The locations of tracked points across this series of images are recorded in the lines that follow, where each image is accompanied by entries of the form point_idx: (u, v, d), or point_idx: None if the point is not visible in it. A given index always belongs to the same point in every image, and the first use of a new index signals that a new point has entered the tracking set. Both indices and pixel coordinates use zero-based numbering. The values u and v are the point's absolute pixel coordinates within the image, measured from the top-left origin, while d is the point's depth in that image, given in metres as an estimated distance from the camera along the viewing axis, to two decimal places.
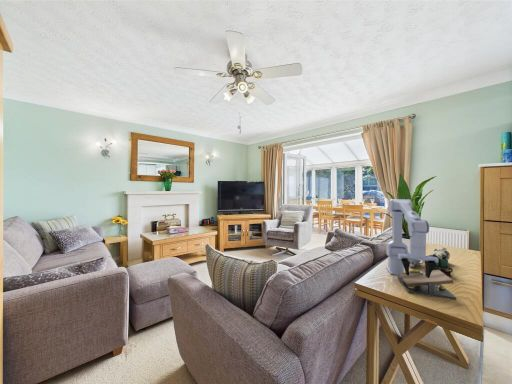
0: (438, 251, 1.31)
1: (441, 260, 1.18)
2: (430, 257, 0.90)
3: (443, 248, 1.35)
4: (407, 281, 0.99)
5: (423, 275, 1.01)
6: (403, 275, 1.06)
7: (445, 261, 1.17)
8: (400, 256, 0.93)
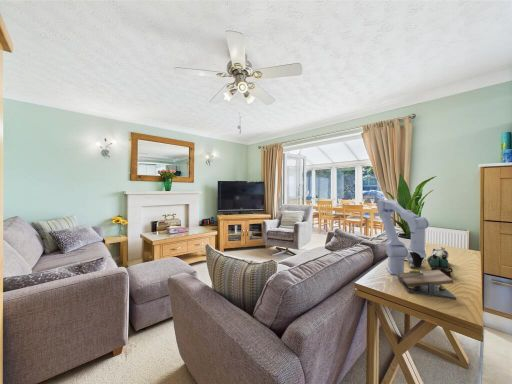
0: (438, 251, 1.31)
1: (441, 260, 1.18)
2: (420, 252, 0.99)
3: (442, 248, 1.36)
4: (407, 281, 0.99)
5: (423, 275, 1.01)
6: (403, 275, 1.06)
7: (445, 261, 1.17)
8: None
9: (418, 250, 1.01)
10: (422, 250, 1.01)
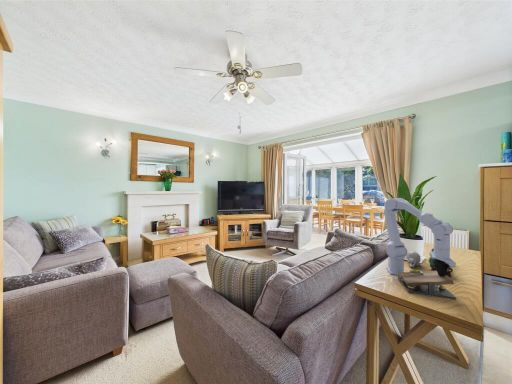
0: None
1: None
2: (447, 260, 0.93)
3: None
4: (407, 280, 0.99)
5: (423, 275, 1.01)
6: (403, 274, 1.06)
7: None
8: None
9: (444, 258, 0.95)
10: (448, 258, 0.95)
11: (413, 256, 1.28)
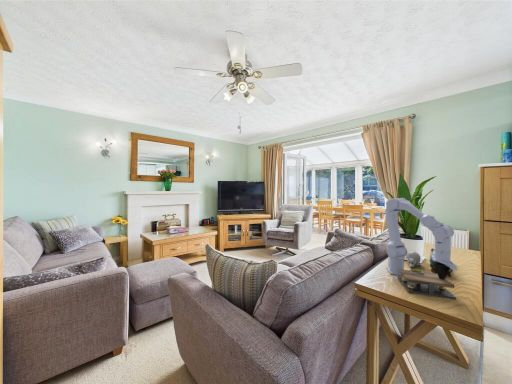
0: None
1: None
2: (448, 263, 0.93)
3: None
4: (407, 277, 0.99)
5: (424, 275, 1.01)
6: (404, 271, 1.06)
7: None
8: (430, 256, 1.05)
9: (445, 261, 0.95)
10: (449, 261, 0.95)
11: (413, 256, 1.27)
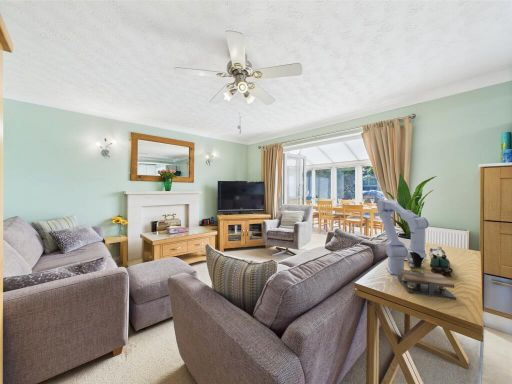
0: (438, 251, 1.31)
1: (441, 260, 1.18)
2: (420, 252, 0.99)
3: (438, 247, 1.37)
4: (407, 277, 0.99)
5: (424, 275, 1.01)
6: (404, 271, 1.06)
7: (445, 261, 1.17)
8: None
9: (418, 250, 1.01)
10: (422, 250, 1.01)
11: None
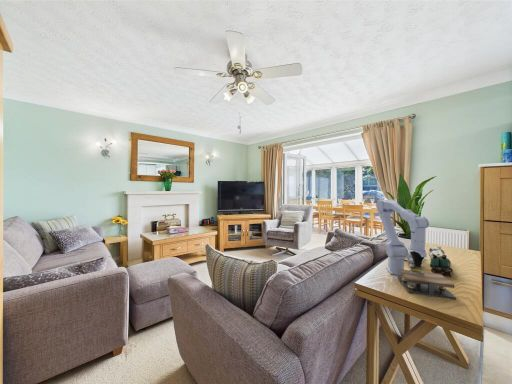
0: (438, 251, 1.31)
1: (441, 260, 1.18)
2: (420, 251, 0.99)
3: (438, 247, 1.37)
4: (407, 277, 0.99)
5: (424, 275, 1.01)
6: (404, 271, 1.06)
7: (445, 261, 1.17)
8: (410, 246, 1.10)
9: (418, 249, 1.01)
10: (422, 249, 1.01)
11: None
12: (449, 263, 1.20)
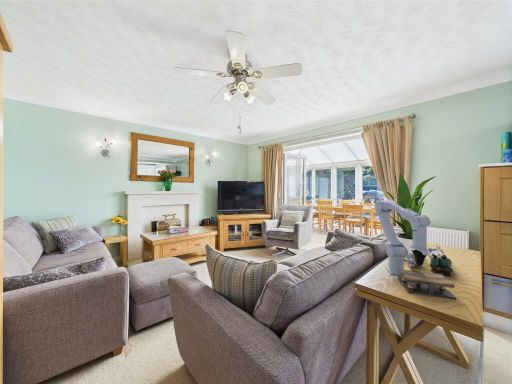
0: (438, 251, 1.31)
1: (441, 260, 1.18)
2: (422, 249, 0.99)
3: (437, 247, 1.37)
4: (407, 277, 0.99)
5: (424, 275, 1.01)
6: (404, 271, 1.06)
7: (445, 261, 1.17)
8: None
9: (420, 248, 1.01)
10: (424, 248, 1.01)
11: (413, 256, 1.27)
12: (450, 263, 1.20)
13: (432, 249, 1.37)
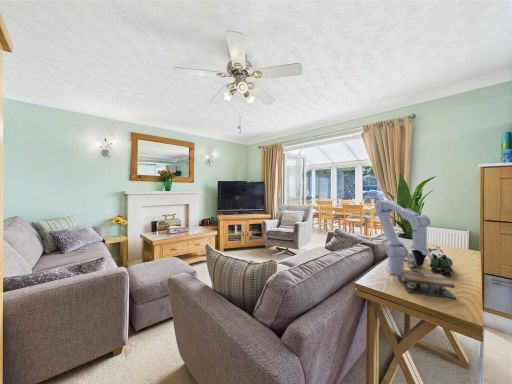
0: (438, 251, 1.31)
1: (441, 260, 1.18)
2: (422, 249, 0.99)
3: (437, 247, 1.38)
4: (407, 277, 0.99)
5: (424, 275, 1.01)
6: (404, 271, 1.06)
7: (445, 261, 1.17)
8: None
9: (420, 248, 1.01)
10: (424, 248, 1.01)
11: (413, 256, 1.27)
12: (451, 263, 1.20)
13: (432, 249, 1.37)
